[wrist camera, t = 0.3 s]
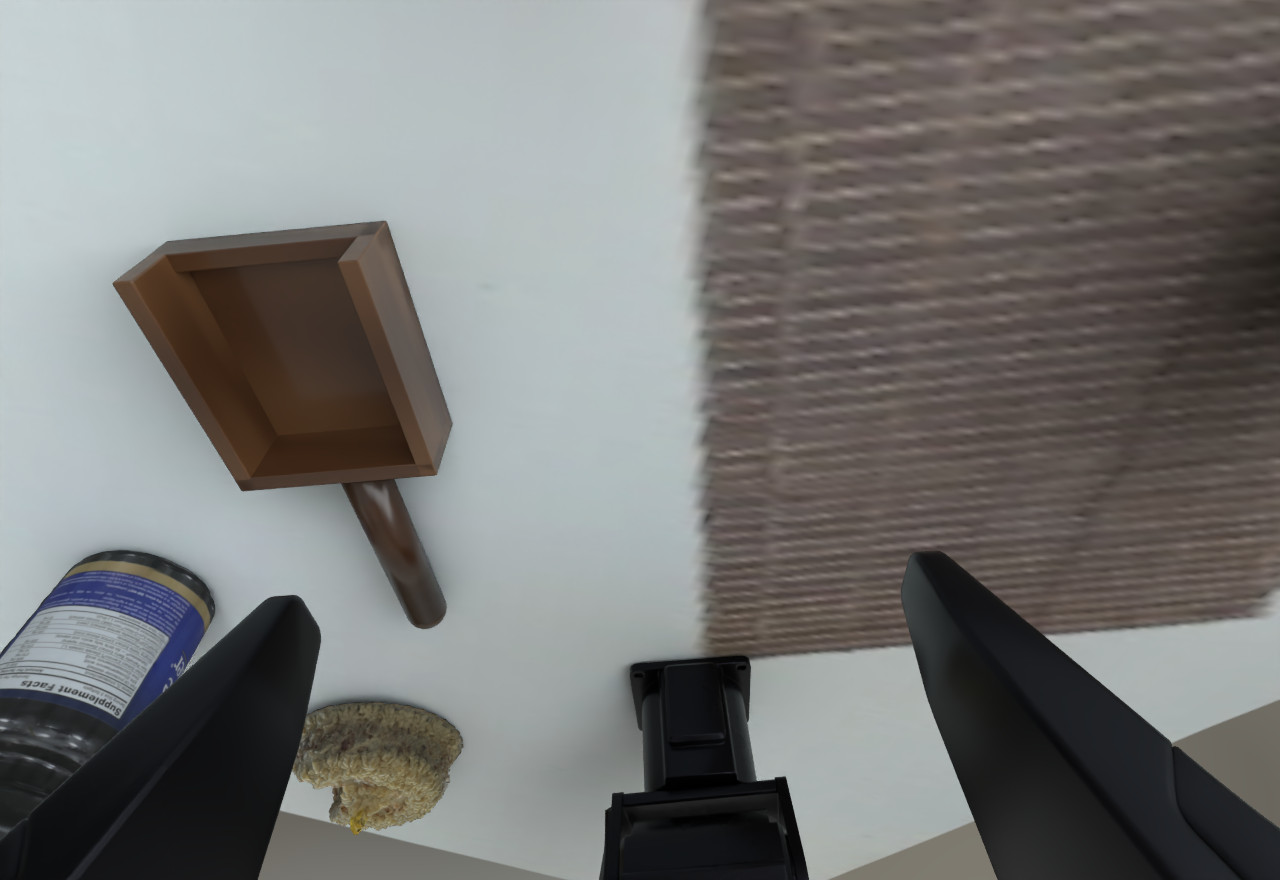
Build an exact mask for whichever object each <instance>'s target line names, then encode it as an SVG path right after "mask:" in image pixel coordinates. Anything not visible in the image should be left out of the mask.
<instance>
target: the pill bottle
mask: <svg viewBox="0 0 1280 880" xmlns="http://www.w3.org/2000/svg"><path fill="white" fill-rule="evenodd" d="M214 614H215V605H214V601H213V599H212V598H211V596H210V591H209V589H208V588H207V587H206V585H205V584H204V583H203V582H202V580H200V579H199V578H198V577H197V576H195V575H194V574H193V573H191V572H190V571H189V570H187V569H185V568H183V567H181V566H178V565H176V564H174V563H173V562H171V561H168V560H166V559H163V558H160V557H157V556H155V555H150V554H147V553H140V552H132V551H122V550H119V551H106V552H101V553H97V554H94V555H91V556H89V557H87V558H85V559H83V560H82V561H81V562H79V563H77V564H76V565H74V566H73V567H72V568H71V569H70V570H69V571H68V572H67V574H66V575H65V576H64V577H63V578H62V579H61V581H60V582H59V583H58V585H57V586H56V587H55V588H54V589H53V590H52V592H51V593H50V594H49V595H48V596H47V597H46V598H45V599H44V600H43V602H42V603H41V604H40V606H39V607H38V609H37V610H36V611H35V612H34V614H33V615H32V616H31V617H30V618H29V619H28V620H27V622H26V623H25V624H24V625H23V627H22V628H21V629H20V630H19V632H18V633H17V634H16V636H15V637H14V638H13V639H12V640H11V641H10V642H9V643H8V645H7V646H6V647H5V648H4V649H3V651H2V652H1V653H0V839H1V838H2V837H3V836H5V835H6V834H7V833H8V832H9V831H10V830H11V829H12V828H13V827H14V826H16V825H17V824H18V823H19V822H20V821H21V820H23V819H26V818H28V816H29V814H30V812H31V811H32V810H34V809H35V808H36V807H37V806H38V805H39V804H40V803H41V802H42V801H44V800H45V799H46V798H47V797H48V796H49V795H50V794H51V793H52V792H53V791H55V790H56V789H57V788H58V787H59V786H60V785H61V784H62V783H63V782H64V781H66V780H67V779H68V778H69V777H70V776H71V775H72V774H73V773H74V772H76V771H77V770H78V769H79V768H80V767H81V766H82V765H83V764H84V763H85V762H87V761H88V760H89V759H90V758H91V757H92V756H93V755H94V754H95V753H97V752H98V751H99V750H100V749H101V748H102V747H103V746H104V745H105V744H106V743H108V742H109V741H110V740H111V739H112V738H113V737H114V736H115V735H116V734H118V733H119V732H120V731H121V730H122V729H123V728H124V727H125V726H126V725H127V724H129V723H130V722H131V721H132V720H133V719H134V718H135V717H136V716H137V715H139V714H140V713H141V712H142V711H143V710H144V709H145V708H146V707H147V706H148V705H150V704H151V703H152V702H153V701H154V700H155V699H156V698H157V697H158V696H160V695H161V694H162V693H163V692H164V691H165V690H166V689H167V688H168V687H169V686H171V685H172V684H173V683H174V682H175V681H176V680H177V679H178V678H179V677H181V675H182V673H183V671H184V670H185V668H186V666H187V664H188V663H189V661H190V659H191V657H192V655H193V654H194V652H195V650H196V648H197V646H198V645H199V643H200V641H201V639H202V638H203V636H204V634H205V632H206V630H207V629H208V627H209V625H210V623H211V621H212V619H213V617H214Z"/></svg>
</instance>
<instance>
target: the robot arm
mask: <svg viewBox="0 0 1280 880" xmlns="http://www.w3.org/2000/svg"><path fill="white" fill-rule="evenodd" d="M901 601H902V606H903V609H904V613H905V617H906V621H907V624H908V628H909V632H910V636H911V639H912V643H913V647H914V651H915V654H916V658H917V662H918V666H919V669H920V673H921V677H922V681H923V684H924V688H925V691H926V695H927V698H928V702H929V704H930V707H931V710H932V713H933V716H934V718H935V721H936V723H937V726H938V728H939V731H940V734H941V736H942V739H943V741H944V744H945V746H946V749H947V751H948V754H949V757H950V759H951V762H952V764H953V767H954V769H955V772H956V774H957V777H958V780H959V782H960V785H961V787H962V790H963V792H964V795H965V797H966V800H967V803H968V805H969V808H970V810H971V813H972V815H973V818H974V820H975V823H976V825H977V828H978V831H979V833H980V835H981V838H982V841H983V843H984V846H985V849H986V851H987V854H988V856H989V859H990V861H991V864H992V866H993V869H994V872H995V874H996V877H997V879H998V880H1280V828H1279V827H1277V826H1276V825H1274V824H1273V823H1272V822H1271V821H1269V820H1268V819H1267V818H1265V817H1264V816H1263V815H1261V814H1260V813H1259V812H1257V811H1256V810H1255V809H1253V808H1252V807H1251V806H1250V805H1248V804H1247V803H1246V802H1245V801H1243V800H1242V799H1241V798H1240V797H1238V796H1237V795H1236V794H1235V793H1233V792H1232V791H1231V790H1230V789H1229V788H1227V787H1226V786H1225V785H1224V784H1222V783H1221V782H1219V781H1218V780H1217V779H1216V778H1214V777H1213V776H1212V775H1211V774H1210V773H1209V772H1207V771H1206V770H1205V769H1204V768H1203V767H1201V766H1200V765H1199V764H1198V763H1197V762H1195V761H1194V760H1193V759H1192V758H1190V757H1189V756H1188V755H1187V754H1186V753H1184V752H1183V751H1182V750H1181V749H1179V748H1178V747H1176V746H1174V747H1172V744H1171V742H1170V740H1169V739H1167V738H1166V737H1165V736H1164V735H1163V734H1161V733H1160V732H1159V731H1158V730H1157V729H1155V728H1154V727H1153V726H1152V725H1151V724H1149V723H1148V722H1147V721H1146V720H1145V719H1143V718H1142V717H1141V716H1140V715H1138V714H1137V713H1136V712H1135V711H1134V710H1132V709H1131V708H1130V707H1129V706H1128V705H1126V704H1125V703H1124V702H1123V701H1122V700H1120V699H1119V698H1118V697H1117V696H1116V695H1114V694H1113V693H1112V692H1111V691H1110V690H1108V689H1107V688H1106V687H1105V686H1104V685H1102V684H1101V683H1100V682H1099V681H1098V680H1096V679H1095V678H1094V677H1093V676H1092V675H1090V674H1089V673H1088V672H1087V671H1086V670H1084V669H1083V668H1082V667H1081V666H1080V665H1078V664H1077V663H1076V662H1075V661H1074V660H1072V659H1071V658H1070V657H1069V656H1068V655H1066V654H1065V653H1064V652H1063V651H1062V650H1060V649H1059V648H1058V647H1057V646H1056V645H1054V644H1053V643H1052V642H1051V641H1050V640H1048V639H1047V638H1046V637H1045V636H1044V635H1042V634H1041V633H1040V632H1039V631H1038V630H1036V629H1035V628H1034V627H1033V626H1032V625H1030V624H1029V623H1028V622H1027V621H1026V620H1024V619H1023V618H1022V617H1021V616H1020V615H1018V614H1017V613H1016V612H1015V611H1014V610H1012V609H1011V608H1010V607H1009V606H1008V605H1006V604H1005V603H1004V602H1003V601H1002V600H1000V599H999V598H998V597H997V596H996V595H994V594H993V593H992V592H991V591H989V590H988V589H987V588H986V587H985V586H983V585H982V584H981V583H980V582H979V581H977V580H976V579H975V578H974V577H973V576H971V575H970V574H969V573H968V572H967V571H965V570H964V569H963V568H962V567H961V566H959V565H958V564H957V563H956V562H955V561H953V560H952V559H951V558H950V557H949V556H947V555H946V554H945V553H943V552H941V551H923V552H915V553H913V554H912V555H911V556H910V558H909V560H908V564H907V568H906V572H905V575H904V579H903V583H902V587H901ZM320 644H321V633H320V629H319V626H318V625H317V623H316V621H315V620H314V618H313V616H312V615H311V613H310V611H309V610H308V608H307V606H306V605H305V603H304V601H303V600H302V599H301V598H300V597H298V596H297V595H287V596H274V597H270V598H268V599H266V600H265V601H264V602H262V603H261V604H260V605H259V606H258V607H257V608H256V609H255V610H253V611H252V612H251V613H250V614H249V615H248V616H247V617H246V618H245V619H244V620H242V621H241V622H240V623H239V624H238V625H237V626H236V627H235V628H234V629H232V630H231V631H230V632H229V633H228V634H227V635H226V636H225V637H224V638H223V639H221V640H220V641H219V642H218V643H217V644H216V645H215V646H214V647H213V648H211V649H210V650H209V651H208V652H207V653H206V654H205V655H204V656H203V657H202V658H200V659H199V660H198V661H197V662H196V663H195V664H194V665H193V666H192V667H190V668H189V669H188V670H187V671H186V672H185V673H184V674H183V675H182V676H181V677H179V678H178V679H177V680H176V681H175V682H174V683H173V684H172V685H171V686H169V687H168V688H167V689H166V690H165V691H164V692H163V693H162V694H161V695H160V696H158V697H157V698H156V699H155V700H154V701H153V702H152V703H151V704H150V705H148V706H147V707H146V708H145V709H144V710H143V711H142V712H141V713H140V714H139V715H137V716H136V717H135V718H134V719H133V720H132V721H131V722H130V723H129V724H127V725H126V726H125V727H124V728H123V729H122V730H121V731H120V732H119V733H118V734H116V735H115V736H114V737H113V738H112V739H111V740H110V741H109V742H108V743H106V744H105V745H104V746H103V747H102V748H101V749H100V750H99V751H98V752H97V753H95V754H94V755H93V756H92V757H91V758H90V759H89V760H88V761H87V762H85V763H84V764H83V765H82V766H81V767H80V768H79V769H78V770H77V771H76V772H74V773H73V774H72V775H71V776H70V777H69V778H68V779H67V780H66V781H64V782H63V783H62V784H61V785H60V786H59V787H58V788H57V789H56V790H55V791H53V792H52V793H51V794H50V795H49V796H48V797H47V798H46V799H45V800H44V801H42V802H41V803H40V804H39V805H38V806H37V807H36V808H35V809H34V810H32V811H31V812H30V814H29V816H28V818H26V819H23V820H21V821H20V822H19V823H18V824H17V825H16V826H14V827H13V828H12V829H11V830H10V831H9V832H8V833H7V834H6V835H5V836H3V837H2V838H1V839H0V880H258V877H259V873H260V870H261V867H262V864H263V861H264V857H265V854H266V851H267V848H268V845H269V842H270V838H271V835H272V832H273V829H274V826H275V822H276V819H277V816H278V813H279V810H280V807H281V804H282V800H283V797H284V794H285V791H286V788H287V784H288V781H289V778H290V775H291V772H292V769H293V765H294V762H295V759H296V756H297V752H298V749H299V745H300V742H301V737H302V733H303V729H304V724H305V719H306V714H307V709H308V704H309V699H310V694H311V689H312V684H313V679H314V674H315V669H316V664H317V660H318V655H319V650H320ZM750 673H751V666H750V661H749V658H747V657H745V656H733V657H720V658H707V659H693V660H680V661H666V662H653V663H639V664H634V665H632V666H631V667H630V680H631V686H632V692H633V698H634V704H635V710H636V716H637V722H638V728H639V729H640V730H641V731H642V732H643V761H644V790H645V792H640V793H630V794H624V793H623V792H619V793H613V794H612V807H610V808H609V809H607V810H606V811H605V846H604V854H603V860H602V865H601V871H600V877H599V880H809V877H808V871H807V866H806V861H805V857H804V852H803V848H802V844H801V839H800V835H799V831H798V827H797V822H796V818H795V814H794V810H793V805H792V801H791V797H790V793H789V788H788V784H787V780H786V776H784V777H775V779H774V780H764V781H757V780H756V774H755V768H754V762H753V756H752V749H751V743H750V737H749V731H748V725H747V722H748V720H749V699H750Z"/></svg>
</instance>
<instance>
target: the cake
mask: <svg viewBox="0 0 1280 880" xmlns="http://www.w3.org/2000/svg"><path fill="white" fill-rule="evenodd" d="M461 748H463V744H462V738H461V736H460V733H459V731H457V730H455V727H454V726H453V725H452V726H451V725H450V724H448V723H447V721H446V720H445V719H442V718H440V717H438V716H437V715H436V714H433V713H430V712H426V711H425V710H424V709H416V708H414V707H412V706H408V705H404V706H402V705H397V704H392V703H391V704H384V703H382V702H379V703H378V702H377V703H375V702H370V703H363V704H362V703H358V702H357V703H353V704H352V703H351V704H350V703H349V704H341V705H338V706H337V705H336V706H335V707H334V706H328V707H326V708H323V709H320V710H319V709H318V710H316V711H314V712H313V713H310V714H308V715H306V719H305V724H304V729H303V733H302V737H301V742H300V745H299V749H298V752H297V756H296V759H295V762H294V765H293V769H292V771H293V772H294V775H296V776H297V779H298V781H299V782H304V781H307V782H308V783H311V784H312V785H313V788H314V789H322V788H324V787H328V786H331V787H334V788H333V791H332V793H333V794H334V797H333V799H334V802H333V804H332V805H331V808H330V810H329V813H330V816H329V817H330V821H331V822H336V823H338V824H339V825H340V826H341V825H343V826H345V825H347V824H349V825H350V827H351V831H352V832H353V834H354V835H357V834H358V833H360V832H361V830H364V829H365V830H366V829H368V827H370V828H374V829H375V830H378V831H379V830H381V828H384V829H386V828H387V826H389V827H390V826H395V825H397V826H401V825H402V824H404V823H405V822H406V821H409V822H412V821H413V820H416V819H421V818H423V816H424V815H425V814H426V813H429V812H430V811H431V809H432V808H434V806H435V805H436V803H437V802H438V800H440V799H441V798H443V797H442V796H443V795H444V791H445V790H446V788H447V787H448V785H445V783H450V776H449V775H448V771H450V769H449V768H450V766H451V765H452V764H453V762H454V761H455V760H456V759H457V757H458V755H459V754H460V753H461ZM356 829H357V830H356Z"/></svg>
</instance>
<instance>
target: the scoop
mask: <svg viewBox="0 0 1280 880" xmlns="http://www.w3.org/2000/svg"><path fill="white" fill-rule="evenodd" d="M113 286H114V287H115V289H116V291H117V292H118V294H119V295H120V297H121V299H122V300H123V302H124V303H125V305H126V307H127V308H128V310H129V311H130V313H131V315H132V316H133V318H134V319H135V321H136V323H137V324H138V326H139V327H140V329H141V331H142V332H143V334H144V335H145V337H146V339H147V340H148V342H149V343H150V345H151V346H152V348H153V350H154V351H155V353H156V354H157V356H158V358H159V359H160V361H161V362H162V364H163V366H164V367H165V369H166V370H167V372H168V374H169V375H170V377H171V378H172V380H173V382H174V383H175V385H176V386H177V388H178V390H179V391H180V393H181V394H182V396H183V398H184V399H185V401H186V402H187V404H188V406H189V407H190V409H191V410H192V412H193V414H194V415H195V417H196V418H197V420H198V422H199V423H200V425H201V426H202V428H203V430H204V431H205V433H206V434H207V436H208V438H209V439H210V441H211V442H212V444H213V446H214V447H215V449H216V450H217V452H218V454H219V455H220V457H221V458H222V460H223V462H224V463H225V465H226V466H227V468H228V470H229V471H230V473H231V474H232V476H233V478H234V479H235V481H236V483H237V484H238V486H239V488H240V489H241V491H252V490H264V489H276V488H289V487H301V486H313V485H325V484H337V483H341V485H342V487H343V489H344V491H345V493H346V495H347V497H348V499H349V501H350V503H351V505H352V507H353V509H354V511H355V513H356V515H357V517H358V519H359V521H360V523H361V525H362V527H363V529H364V531H365V533H366V535H367V537H368V539H369V541H370V543H371V545H372V547H373V549H374V551H375V554H376V556H377V558H378V560H379V562H380V564H381V566H382V568H383V570H384V572H385V574H386V576H387V578H388V580H389V582H390V584H391V586H392V588H393V590H394V592H395V594H396V596H397V598H398V600H399V602H400V604H401V606H402V608H403V610H404V612H405V614H406V616H407V618H408V620H409V621H410V623H411V624H412V625H414V626H415V627H417V628H421V629H429V628H432V627H434V626H436V625H438V624H439V623H440V622H441V621H442V620H443V618H444V616H445V614H446V609H447V606H446V601H445V598H444V596H443V594H442V591H441V589H440V587H439V584H438V582H437V580H436V577H435V575H434V572H433V570H432V568H431V565H430V563H429V561H428V558H427V556H426V554H425V551H424V549H423V546H422V544H421V542H420V539H419V537H418V535H417V532H416V530H415V528H414V525H413V523H412V521H411V518H410V516H409V513H408V511H407V509H406V506H405V504H404V502H403V499H402V497H401V495H400V492H399V490H398V487H397V485H396V483H395V480H394V479H397V478H409V477H421V476H434V475H437V472H438V469H439V466H440V463H441V459H442V456H443V453H444V450H445V447H446V443H447V440H448V437H449V434H450V431H451V427H452V421H451V418H450V414H449V411H448V408H447V405H446V402H445V399H444V396H443V393H442V390H441V387H440V384H439V381H438V378H437V375H436V372H435V368H434V365H433V362H432V359H431V356H430V353H429V350H428V347H427V344H426V341H425V338H424V335H423V332H422V329H421V326H420V322H419V319H418V316H417V313H416V310H415V307H414V304H413V301H412V298H411V295H410V292H409V289H408V286H407V283H406V280H405V277H404V273H403V270H402V267H401V264H400V261H399V258H398V255H397V252H396V249H395V246H394V243H393V240H392V237H391V234H390V231H389V227H388V224H387V222H386V221H379V222H369V223H358V224H347V225H337V226H326V227H315V228H305V229H294V230H283V231H273V232H262V233H251V234H241V235H230V236H219V237H209V238H198V239H187V240H177V241H167V242H166V243H165V244H163V245H162V246H161V247H159V248H158V249H157V250H155V251H154V252H153V253H151V254H150V255H149V256H147V257H146V258H145V259H144V260H142V261H141V262H140V263H138V264H137V265H136V266H134V267H133V268H132V269H130V270H129V271H128V272H126V273H125V274H124V275H122V276H121V277H120V278H118V279H117V280H116V281H114V282H113Z"/></svg>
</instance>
